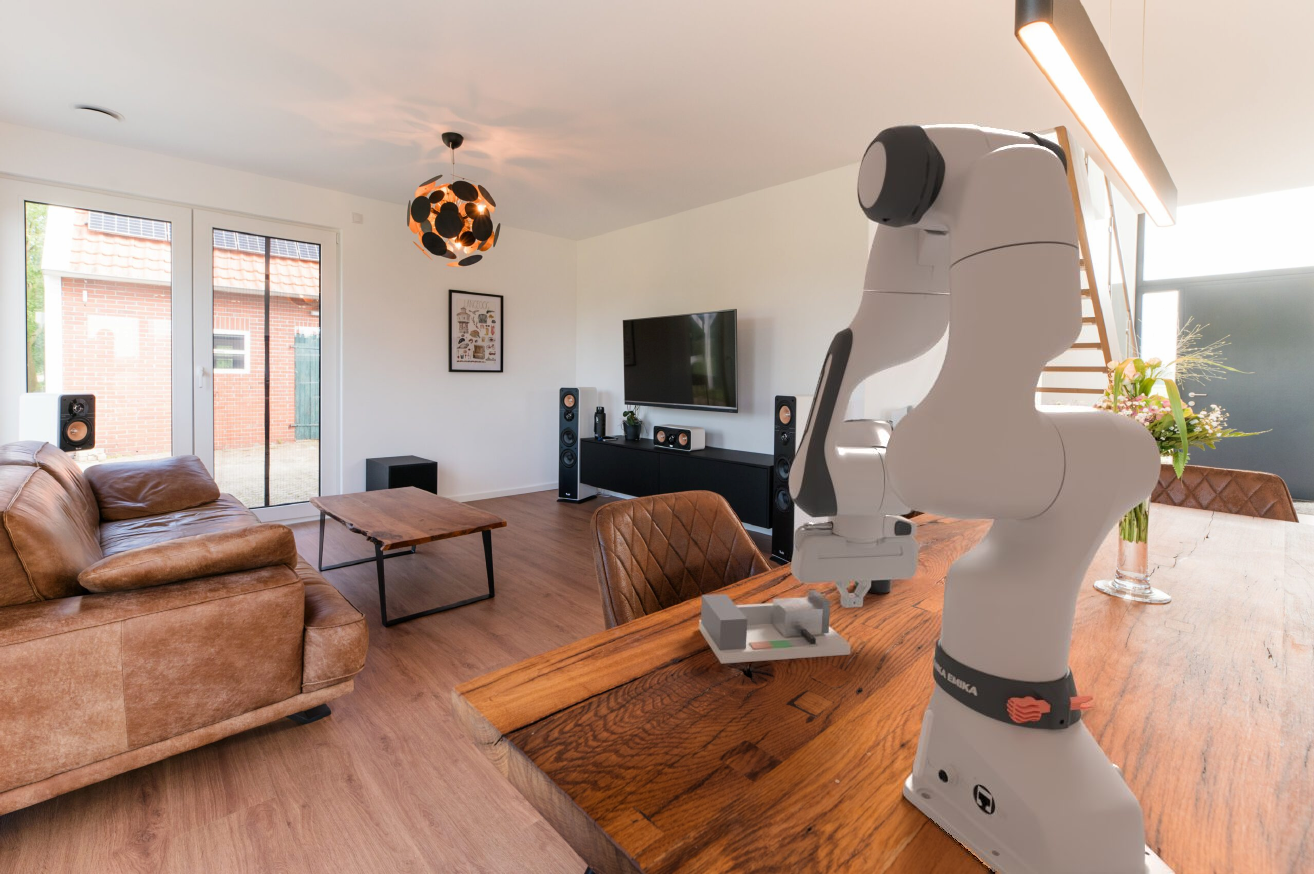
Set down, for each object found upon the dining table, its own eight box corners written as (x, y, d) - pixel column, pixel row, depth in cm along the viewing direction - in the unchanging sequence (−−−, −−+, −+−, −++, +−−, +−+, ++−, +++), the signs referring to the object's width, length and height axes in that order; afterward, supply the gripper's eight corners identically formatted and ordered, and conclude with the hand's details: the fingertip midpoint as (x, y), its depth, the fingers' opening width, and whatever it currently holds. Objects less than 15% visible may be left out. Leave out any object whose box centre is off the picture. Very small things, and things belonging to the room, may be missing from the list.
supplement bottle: (893, 596, 118) (898, 534, 116) (856, 592, 119) (860, 531, 118) (888, 584, 124) (892, 525, 123) (852, 581, 126) (856, 523, 124)
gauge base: (850, 654, 92) (852, 615, 92) (721, 663, 88) (722, 622, 88) (814, 622, 104) (816, 587, 103) (699, 628, 100) (700, 592, 99)
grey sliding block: (839, 643, 92) (841, 610, 91) (794, 646, 90) (795, 612, 90) (814, 620, 100) (815, 590, 100) (772, 623, 99) (773, 592, 98)
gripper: (804, 528, 92) (798, 617, 94) (927, 525, 96) (919, 610, 98) (786, 517, 98) (782, 601, 100) (903, 514, 102) (896, 595, 104)
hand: (851, 605), depth 99 cm, fingers closed
